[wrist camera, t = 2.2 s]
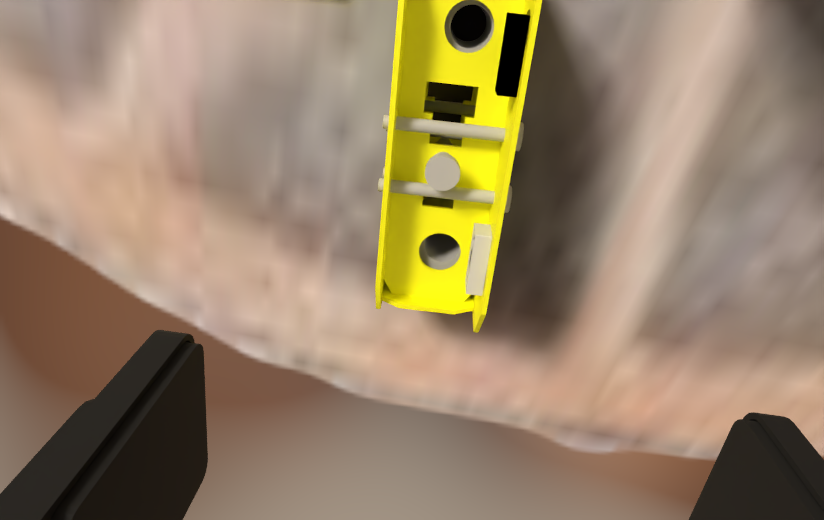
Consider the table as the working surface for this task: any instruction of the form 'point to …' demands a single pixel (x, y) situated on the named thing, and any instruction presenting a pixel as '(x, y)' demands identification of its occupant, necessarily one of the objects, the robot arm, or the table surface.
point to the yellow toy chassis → (451, 154)
